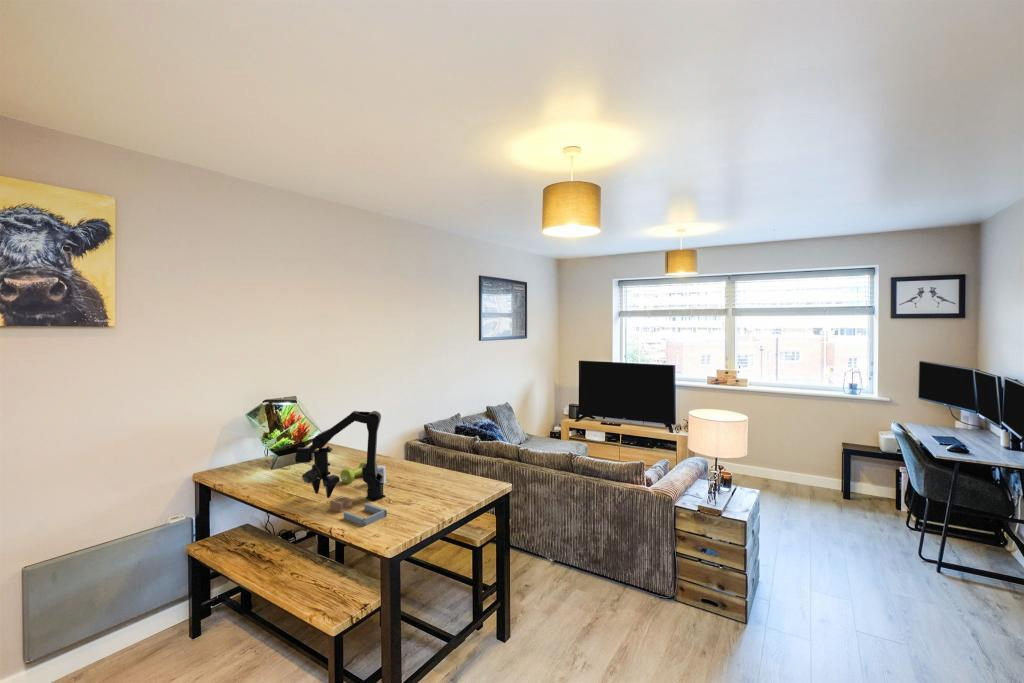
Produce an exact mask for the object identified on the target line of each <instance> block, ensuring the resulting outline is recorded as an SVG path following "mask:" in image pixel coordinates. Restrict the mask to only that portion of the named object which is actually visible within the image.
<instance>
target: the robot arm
mask: <svg viewBox="0 0 1024 683" xmlns="http://www.w3.org/2000/svg"><path fill="white" fill-rule="evenodd" d="M381 420H382V415H381V413H380V412H378V411H377V410H373V411H360V410H359V411H357V410H353V411H352V412H351V413H349V415H347V416H345V417H344V418H343V419H341V420H340V421H339V422H337V423H336V424H335V425H333V426H332V427H330V428H328V429H326V430H324V431H322V432H319V433H317V435H316V436H315V437H313V438H312V440H311V443H312V444H311V445H310V446H309V447H297V448H296V451H295V452H296V453H295V457H294V459H295V460H294V461H295V463H296V464H309V463H310V464H311V463H312V461H313V462H314V463H313V464H312V465H311V468H310V469H309V470H307V471H306V472H305V473H303V474H301V478H302V480H303V481H304V483H307V484H311V485H312V487H313V491H314V494H315V495H317V494H319V491H320V487H321V482H322V486H323V487H324V488H325V494H326V499H330V498H331V496H332V494H333V491H334V489H335V487H336V486H337V484H338V483H340V482H341V481H340V479H341V478H340V476H338V475H336V474H332V475H331V471H329V467H330V466H331V463H330V462H329V453H331V452H332V451H333V448H332V447H330V445H327V444H328V443H329V442H330V441H331V440H332V438H334V437H335V436H336V435H337V434H339V433H340V432H342V431H343V430H345V429H346V428H347V427H348V426H350V425H351V424H353V423H354V422H357V423H362V424H366V430H367V434H368V435H367V448H366V449H367V451H366V462H367V463H366V464H364V466H363V467H362V475H361V478H362V480H363V482H364V483H366V485H367V489H366V497H365V499H368V500H371V501H373V502H376V501H378V500H381V499H383V498H386V494H384V485H383V483H381V481H382V478H383V476H382V475H380V474H379V473H378V469H377V466H378V465H377V444H378V443H377V442H378V430H379V427H380V424H381ZM326 445H327V446H326ZM325 446H326V447H325ZM321 480H322V481H321Z"/></svg>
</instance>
